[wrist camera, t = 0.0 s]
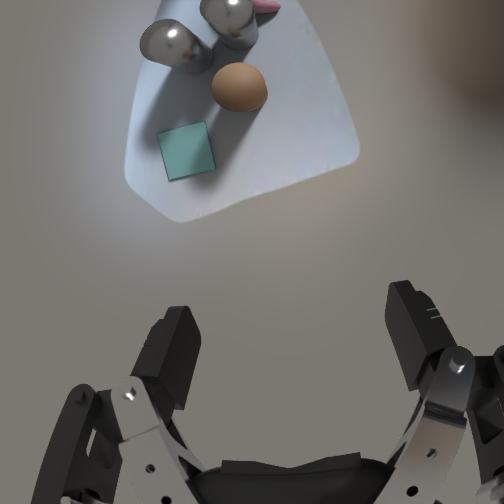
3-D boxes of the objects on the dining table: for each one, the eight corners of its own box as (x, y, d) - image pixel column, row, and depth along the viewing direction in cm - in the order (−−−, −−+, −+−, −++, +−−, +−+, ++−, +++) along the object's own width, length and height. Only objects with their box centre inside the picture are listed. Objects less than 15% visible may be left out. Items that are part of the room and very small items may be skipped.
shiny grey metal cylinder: (219, 24, 26) (196, -7, 16) (254, 17, 25) (246, -19, 15) (225, 53, 28) (204, 30, 18) (261, 46, 28) (256, 19, 17)
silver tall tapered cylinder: (175, 48, 28) (136, 29, 18) (209, 38, 27) (182, 12, 17) (181, 77, 30) (143, 68, 20) (215, 68, 29) (190, 52, 19)
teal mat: (159, 133, 34) (157, 134, 34) (205, 121, 33) (204, 121, 33) (170, 178, 38) (169, 179, 37) (215, 168, 37) (215, 169, 36)
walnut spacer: (227, 81, 30) (206, 69, 20) (263, 74, 30) (259, 58, 19) (234, 113, 33) (217, 116, 22) (270, 107, 32) (269, 106, 22)
